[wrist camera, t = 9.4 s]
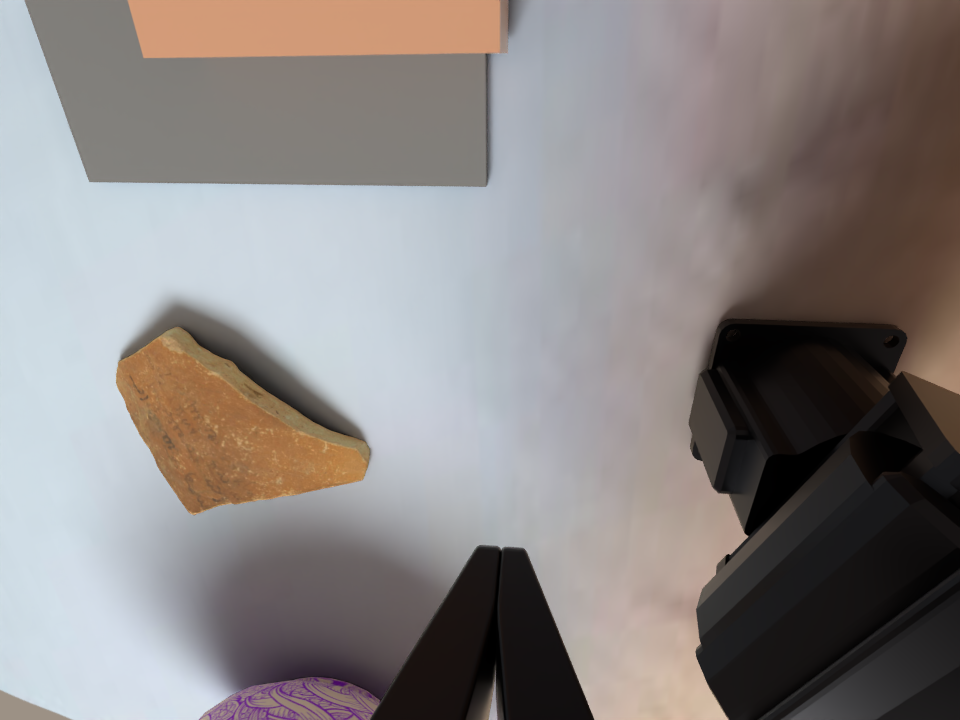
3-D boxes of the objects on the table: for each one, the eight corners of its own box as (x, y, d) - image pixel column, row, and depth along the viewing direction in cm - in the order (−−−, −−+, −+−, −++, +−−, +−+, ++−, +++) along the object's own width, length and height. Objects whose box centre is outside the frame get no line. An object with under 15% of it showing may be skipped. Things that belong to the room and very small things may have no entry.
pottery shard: (385, 457, 26) (371, 493, 24) (252, 517, 30) (229, 554, 27) (238, 282, 23) (205, 305, 20) (103, 372, 26) (62, 401, 23)
